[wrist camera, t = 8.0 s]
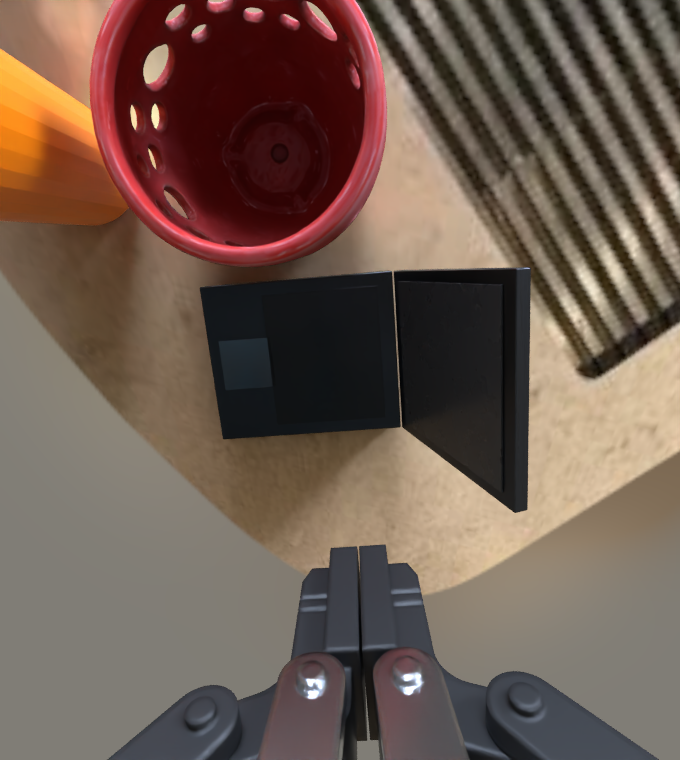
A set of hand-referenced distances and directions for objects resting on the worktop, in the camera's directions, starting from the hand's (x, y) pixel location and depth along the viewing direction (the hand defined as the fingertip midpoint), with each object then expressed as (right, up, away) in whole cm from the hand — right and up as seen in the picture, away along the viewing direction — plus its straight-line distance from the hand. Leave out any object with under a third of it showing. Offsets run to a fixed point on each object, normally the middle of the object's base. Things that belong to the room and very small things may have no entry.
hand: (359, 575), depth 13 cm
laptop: (-3, +7, +22) cm, 23 cm away
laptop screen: (+5, +6, +14) cm, 16 cm away
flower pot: (-5, +20, +19) cm, 28 cm away
